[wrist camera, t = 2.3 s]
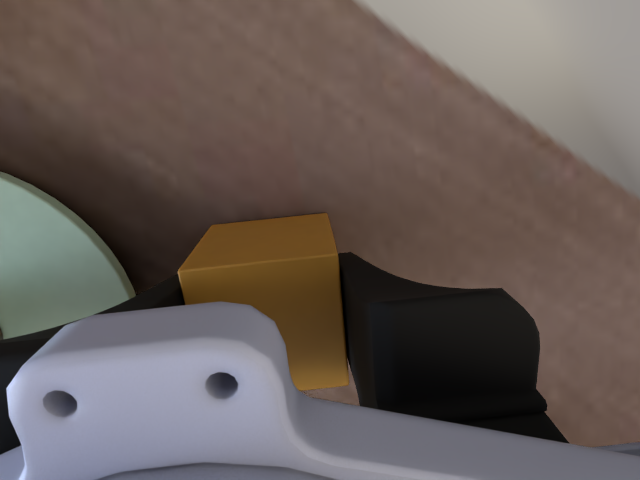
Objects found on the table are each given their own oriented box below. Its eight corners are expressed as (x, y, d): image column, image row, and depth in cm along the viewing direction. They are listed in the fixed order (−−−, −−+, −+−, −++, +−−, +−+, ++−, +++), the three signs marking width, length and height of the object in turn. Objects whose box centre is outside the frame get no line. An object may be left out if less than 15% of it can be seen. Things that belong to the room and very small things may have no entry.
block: (230, 326, 15) (207, 402, 11) (210, 224, 13) (176, 270, 10) (337, 314, 15) (349, 386, 11) (327, 212, 14) (338, 253, 10)
